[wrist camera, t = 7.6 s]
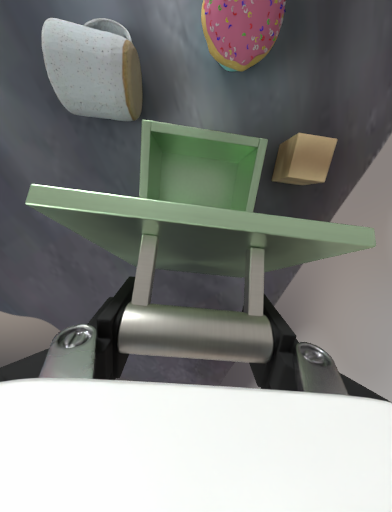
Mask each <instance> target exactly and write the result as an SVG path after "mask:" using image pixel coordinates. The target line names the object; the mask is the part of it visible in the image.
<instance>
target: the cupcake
mask: <svg viewBox="0 0 392 512" xmlns="http://www.w3.org/2000/svg"><path fill="white" fill-rule="evenodd" d="M285 4H286V2H285V0H203V5H202V13H201V21H202V27H203V32H204V36H205V38H206V41H207V44H208V48H209V52H210V54H211V55H212V56H213V58H214V59H215V60H216V61H218V62H219V64H220V65H221V66H222V67H223V68H224V69H225V70H227V71H232V72H234V71H244V70H246V69H248V68H249V67H251V66H253V65H255V64H256V63H258V62H259V61H260V60H262V59H263V58H264V57H265V56H266V55H267V54H268V52H269V51H270V50H271V48H272V46H273V45H274V43H275V41H276V39H277V37H278V34H279V31H280V28H281V26H282V25H281V24H282V22H283V16H284V12H285Z"/></svg>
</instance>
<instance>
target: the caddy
mask: <svg viewBox="0 0 392 512" xmlns="http://www.w3.org/2000/svg"><path fill="white" fill-rule="evenodd" d="M267 143H268V139H263V138H260V139H259V138H256V137H250V136H244V135H238V134H231V133H225V132H219V131H212V130H206V129H200V128H193V127H187V126H181V125H174V124H168V123H162V122H155V121H149V120H142V134H141V162H140V189H139V198H145V199H153V200H161V201H169V202H176V203H184V204H192V205H199V206H207V207H215V208H223V209H230V210H238V211H246V212H253V210H254V205H255V200H256V195H257V191H258V186H259V181H260V176H261V171H262V167H263V162H264V157H265V152H266V147H267Z"/></svg>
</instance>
